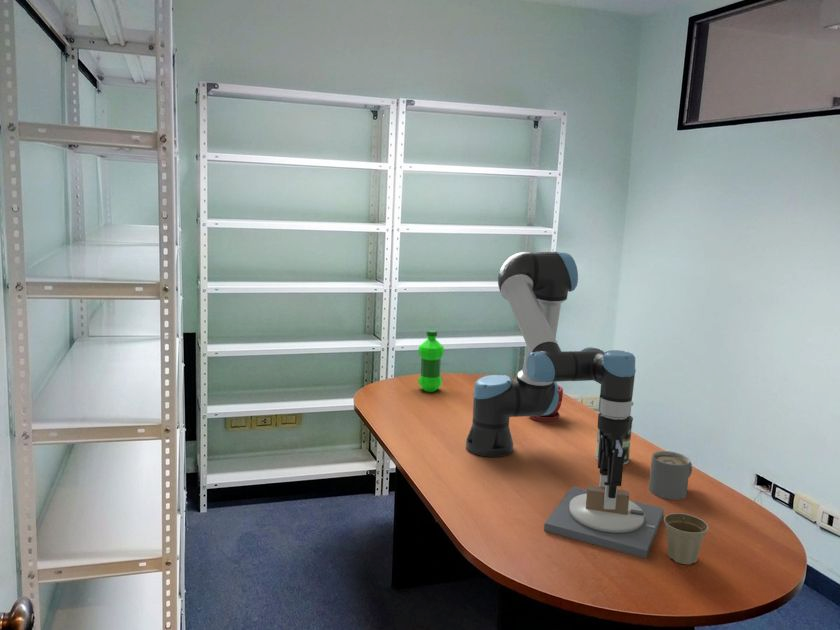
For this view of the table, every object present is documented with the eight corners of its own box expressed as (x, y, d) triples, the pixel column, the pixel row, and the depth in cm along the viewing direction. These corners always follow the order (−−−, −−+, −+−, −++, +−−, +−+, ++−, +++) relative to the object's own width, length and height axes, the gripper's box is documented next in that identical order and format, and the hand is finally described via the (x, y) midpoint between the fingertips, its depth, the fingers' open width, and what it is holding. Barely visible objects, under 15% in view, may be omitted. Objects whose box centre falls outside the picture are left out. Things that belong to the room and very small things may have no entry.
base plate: (543, 530, 160) (544, 521, 159) (571, 493, 180) (572, 485, 180) (646, 558, 148) (647, 549, 148) (663, 515, 169) (663, 507, 169)
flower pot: (653, 547, 154) (656, 512, 152) (691, 546, 154) (695, 512, 153) (671, 569, 144) (675, 533, 143) (712, 568, 145) (716, 532, 144)
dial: (567, 525, 158) (569, 500, 156) (570, 494, 175) (572, 471, 174) (645, 538, 153) (648, 512, 152) (641, 504, 170) (644, 480, 169)
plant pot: (568, 419, 241) (570, 388, 238) (542, 425, 233) (544, 393, 231) (543, 409, 251) (545, 379, 249) (517, 415, 244) (519, 384, 242)
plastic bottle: (434, 395, 265) (436, 334, 261) (412, 390, 271) (414, 331, 266) (447, 389, 273) (449, 331, 269) (425, 385, 279) (427, 327, 275)
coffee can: (627, 454, 209) (631, 412, 207) (630, 467, 199) (634, 423, 197) (593, 451, 211) (597, 409, 209) (595, 463, 201) (599, 419, 199)
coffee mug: (663, 501, 177) (667, 466, 175) (641, 485, 186) (644, 452, 185) (704, 496, 181) (708, 462, 179) (680, 481, 190) (684, 448, 189)
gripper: (642, 427, 151) (632, 521, 155) (618, 403, 168) (611, 489, 172) (609, 426, 151) (601, 520, 155) (589, 403, 167) (582, 488, 172)
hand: (606, 503), depth 163 cm, fingers closed on dial, 4 cm apart
